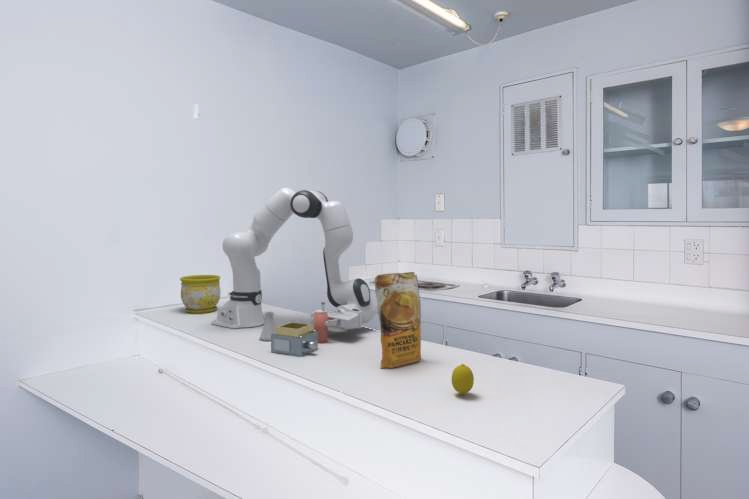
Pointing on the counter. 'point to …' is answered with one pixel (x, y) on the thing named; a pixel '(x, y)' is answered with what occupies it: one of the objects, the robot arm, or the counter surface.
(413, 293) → the pancake mix bag
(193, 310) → the flowerpot
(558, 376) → the counter surface
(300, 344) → the box
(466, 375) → the lemon
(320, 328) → the spout can
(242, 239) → the robot arm
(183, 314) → the counter surface
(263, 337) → the flask
